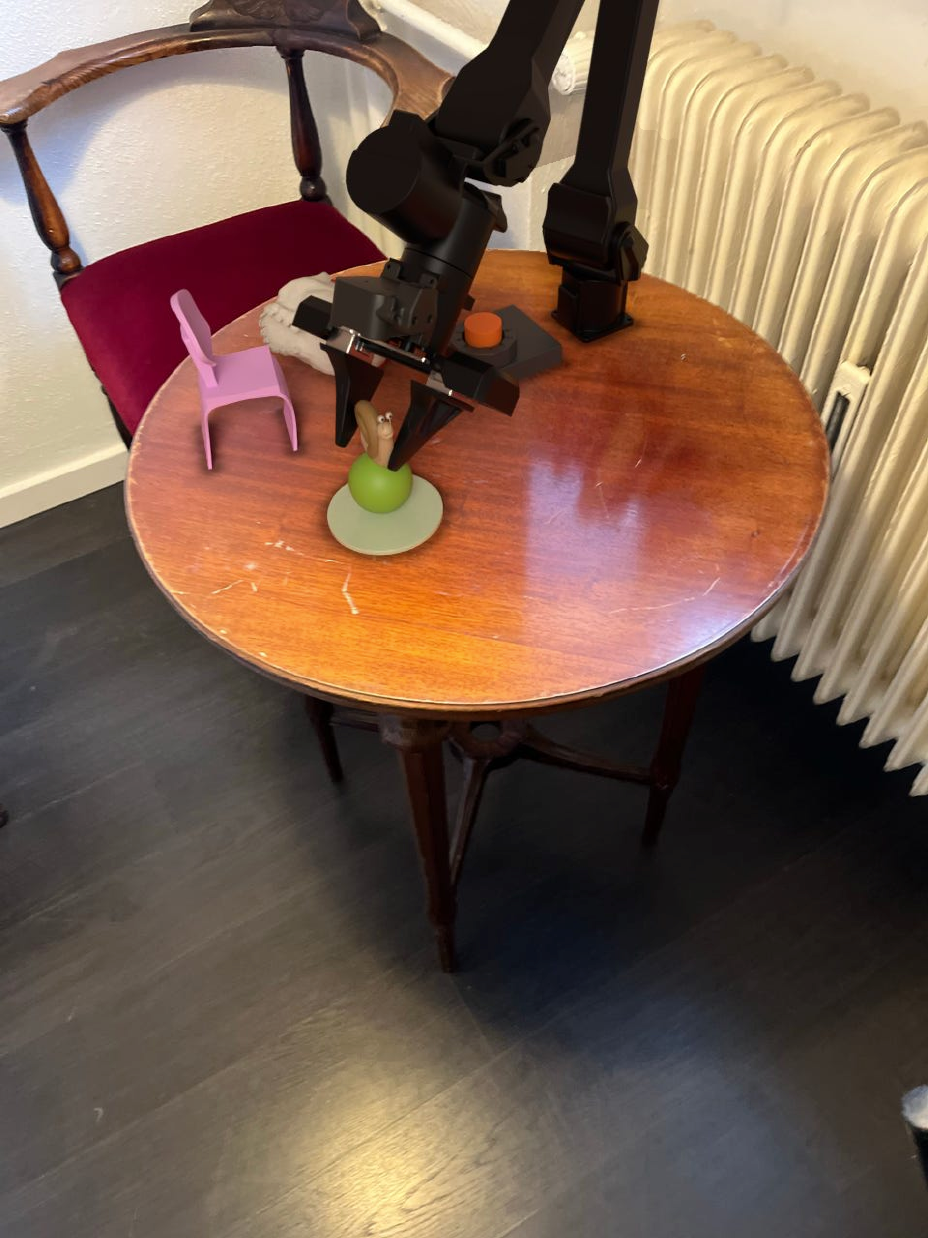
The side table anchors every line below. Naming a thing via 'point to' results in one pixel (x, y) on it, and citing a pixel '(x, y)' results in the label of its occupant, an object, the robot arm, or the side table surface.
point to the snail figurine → (377, 465)
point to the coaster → (386, 521)
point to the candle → (293, 338)
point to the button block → (514, 345)
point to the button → (483, 330)
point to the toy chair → (229, 370)
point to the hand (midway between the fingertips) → (365, 458)
